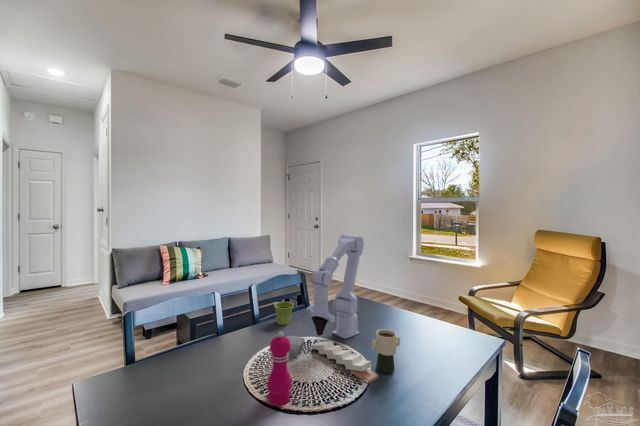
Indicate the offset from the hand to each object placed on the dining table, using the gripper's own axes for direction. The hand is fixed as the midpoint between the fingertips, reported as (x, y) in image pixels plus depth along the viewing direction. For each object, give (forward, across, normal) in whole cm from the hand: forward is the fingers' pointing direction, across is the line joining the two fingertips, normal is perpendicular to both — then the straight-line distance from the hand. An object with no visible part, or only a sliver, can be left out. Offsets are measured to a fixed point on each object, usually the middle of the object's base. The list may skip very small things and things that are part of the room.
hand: (319, 334), depth 117 cm
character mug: (+6, +26, +8) cm, 27 cm away
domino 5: (+5, +16, 0) cm, 17 cm away
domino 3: (+5, +7, 0) cm, 9 cm away
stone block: (+6, -7, -10) cm, 14 cm away
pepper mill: (+6, +14, -29) cm, 33 cm away
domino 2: (+5, +2, 0) cm, 6 cm away
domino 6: (+6, +19, 0) cm, 20 cm away
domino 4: (+5, +12, 0) cm, 13 cm away
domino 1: (+5, -2, 0) cm, 6 cm away
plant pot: (+6, -30, +4) cm, 31 cm away
